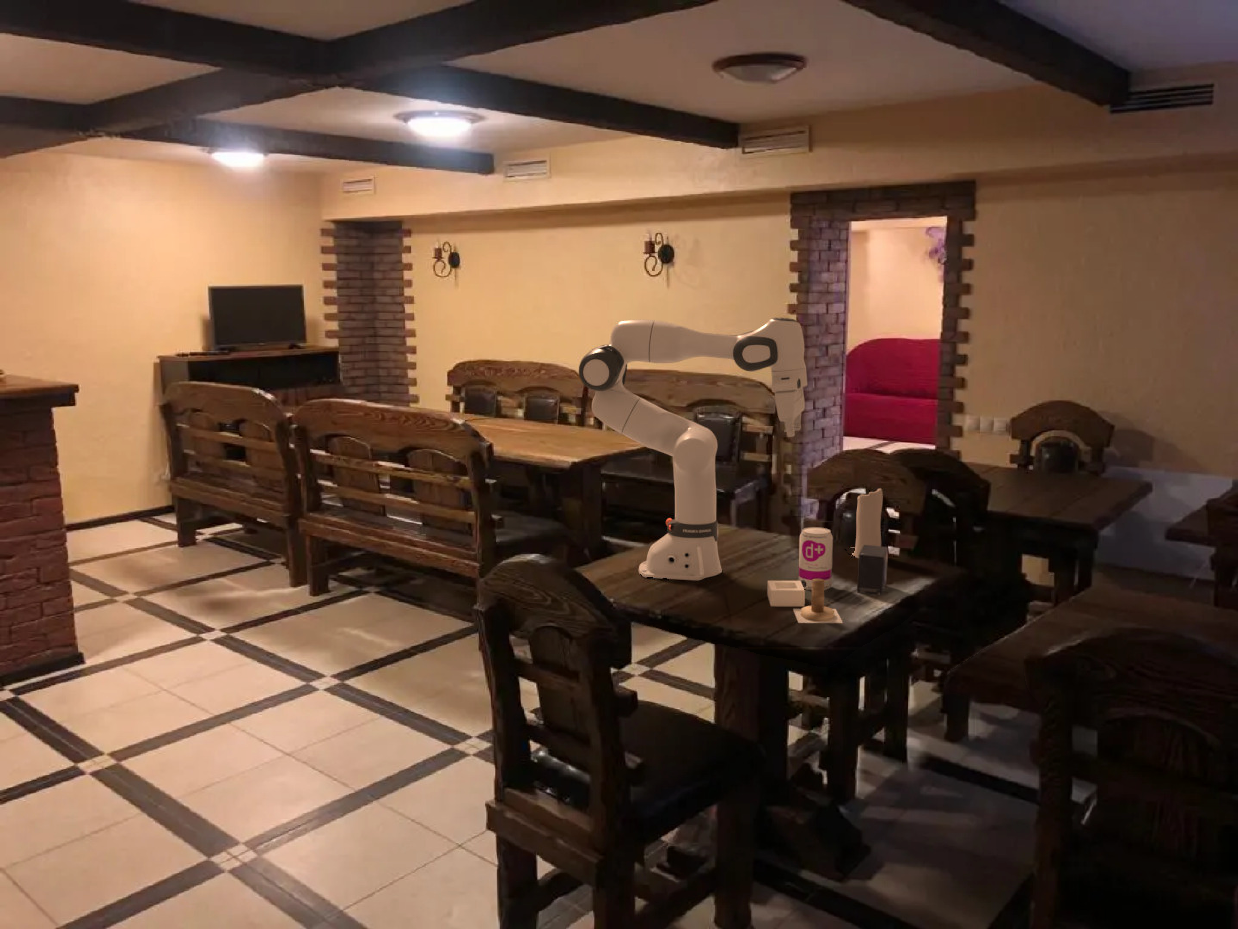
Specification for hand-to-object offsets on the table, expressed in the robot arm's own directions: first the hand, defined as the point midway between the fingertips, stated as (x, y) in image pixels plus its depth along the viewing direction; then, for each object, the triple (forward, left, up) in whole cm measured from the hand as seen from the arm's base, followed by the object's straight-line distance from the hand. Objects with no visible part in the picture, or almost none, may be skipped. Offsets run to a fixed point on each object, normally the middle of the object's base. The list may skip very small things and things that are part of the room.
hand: (794, 433), depth 257 cm
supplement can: (+5, -11, -39) cm, 40 cm away
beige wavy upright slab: (+23, +22, -39) cm, 50 cm away
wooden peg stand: (+2, -35, -38) cm, 51 cm away
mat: (+2, -35, -38) cm, 52 cm away
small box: (+19, -13, -39) cm, 45 cm away
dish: (-4, -24, -38) cm, 45 cm away
